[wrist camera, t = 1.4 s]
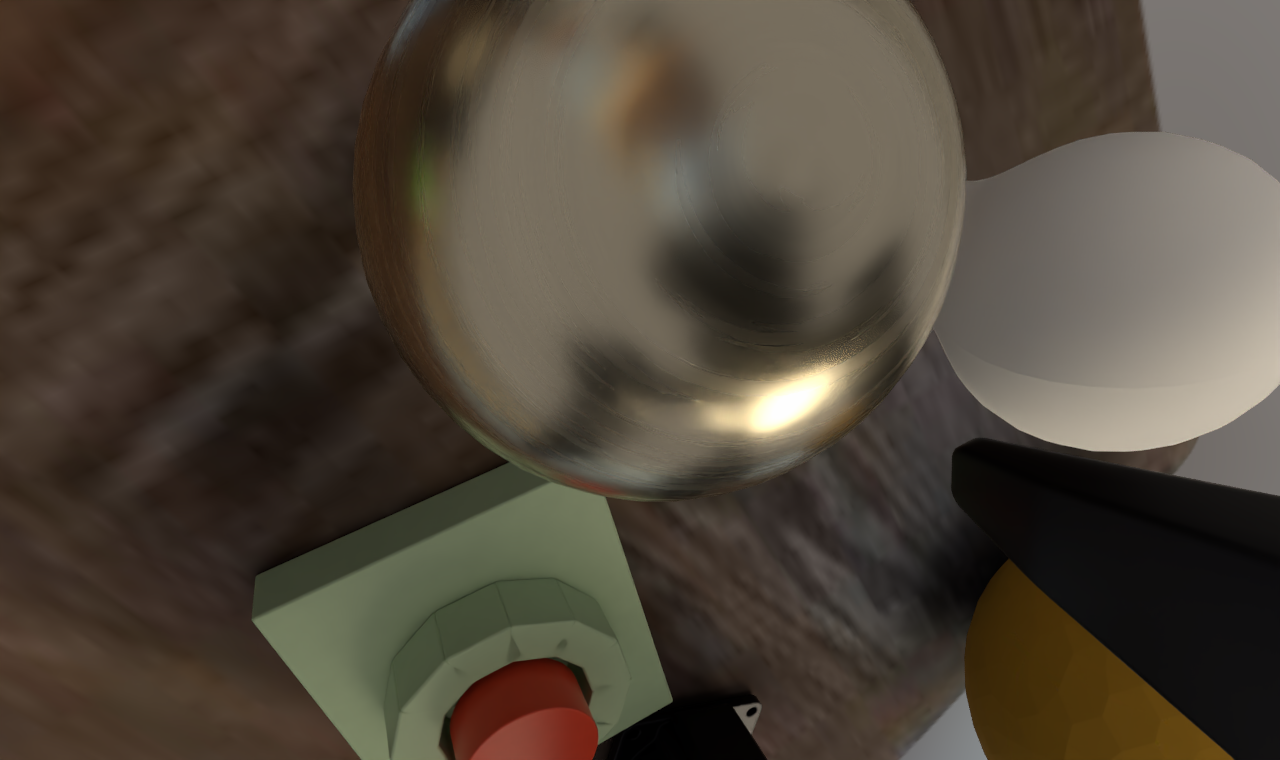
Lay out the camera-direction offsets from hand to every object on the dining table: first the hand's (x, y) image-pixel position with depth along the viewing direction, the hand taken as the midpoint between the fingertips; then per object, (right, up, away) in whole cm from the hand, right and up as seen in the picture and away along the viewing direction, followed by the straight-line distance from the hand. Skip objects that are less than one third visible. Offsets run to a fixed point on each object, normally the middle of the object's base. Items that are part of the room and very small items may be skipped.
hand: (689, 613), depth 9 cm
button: (-4, -6, +10) cm, 12 cm away
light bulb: (+6, +8, +12) cm, 16 cm away
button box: (-5, -5, +12) cm, 14 cm away
